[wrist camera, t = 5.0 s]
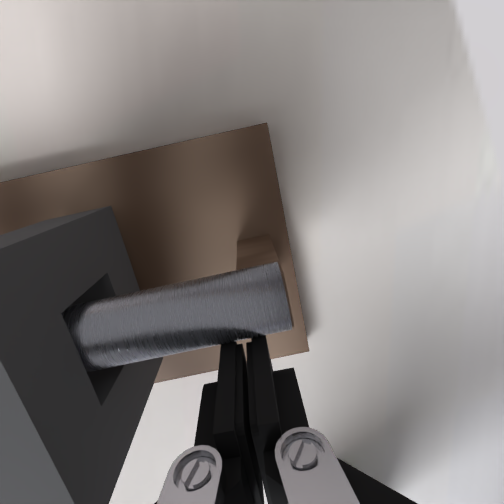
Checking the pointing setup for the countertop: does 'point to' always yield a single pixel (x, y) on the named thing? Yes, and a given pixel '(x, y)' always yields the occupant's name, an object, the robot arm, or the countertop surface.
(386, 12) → the countertop surface
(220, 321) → the pipe
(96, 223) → the collar
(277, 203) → the brown wooden base
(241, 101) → the countertop surface
